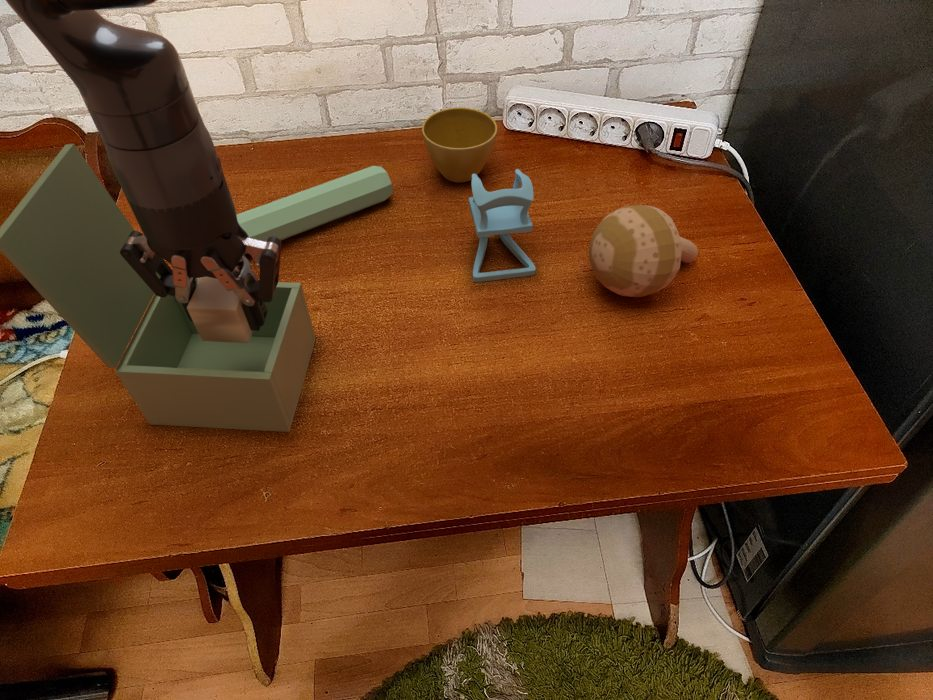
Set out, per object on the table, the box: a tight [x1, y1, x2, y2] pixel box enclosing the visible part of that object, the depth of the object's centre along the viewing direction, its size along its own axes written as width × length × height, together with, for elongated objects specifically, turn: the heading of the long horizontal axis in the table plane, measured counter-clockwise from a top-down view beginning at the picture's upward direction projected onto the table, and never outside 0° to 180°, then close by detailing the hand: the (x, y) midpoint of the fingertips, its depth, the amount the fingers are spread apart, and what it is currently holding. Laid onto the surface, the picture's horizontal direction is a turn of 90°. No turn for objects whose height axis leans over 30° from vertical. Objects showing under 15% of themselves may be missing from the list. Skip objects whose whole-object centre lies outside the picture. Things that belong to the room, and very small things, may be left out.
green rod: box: [236, 165, 393, 256], centre depth 88 cm, size 6×6×25 cm
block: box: [187, 277, 253, 343], centre depth 65 cm, size 5×5×5 cm
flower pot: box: [421, 107, 498, 184], centre depth 94 cm, size 10×10×7 cm
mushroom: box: [588, 204, 699, 298], centre depth 80 cm, size 10×11×15 cm
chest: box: [114, 278, 317, 433], centre depth 70 cm, size 15×13×9 cm
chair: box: [468, 168, 537, 283], centre depth 81 cm, size 8×8×12 cm
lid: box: [0, 143, 161, 369], centre depth 61 cm, size 16×13×1 cm
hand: (231, 322), depth 66 cm, fingers closed on block, 4 cm apart
